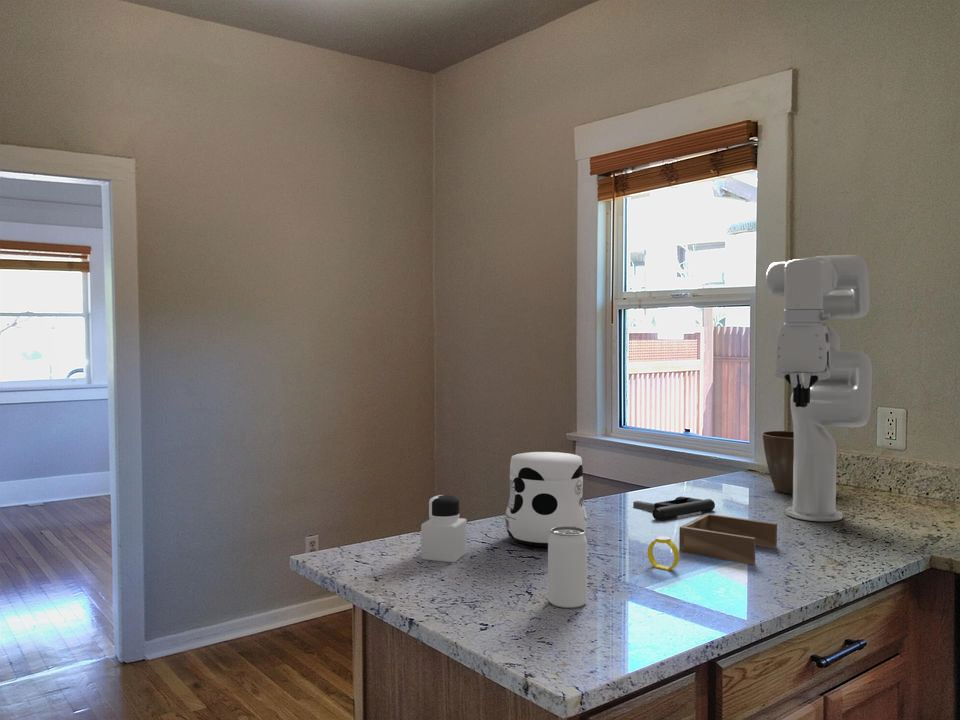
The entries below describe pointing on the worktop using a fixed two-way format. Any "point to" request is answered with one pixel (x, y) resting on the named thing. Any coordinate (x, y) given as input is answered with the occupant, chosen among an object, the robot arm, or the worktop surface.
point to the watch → (676, 553)
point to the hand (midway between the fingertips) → (801, 406)
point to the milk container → (544, 496)
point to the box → (726, 537)
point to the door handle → (676, 507)
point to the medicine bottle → (444, 531)
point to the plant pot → (780, 458)
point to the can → (567, 567)
